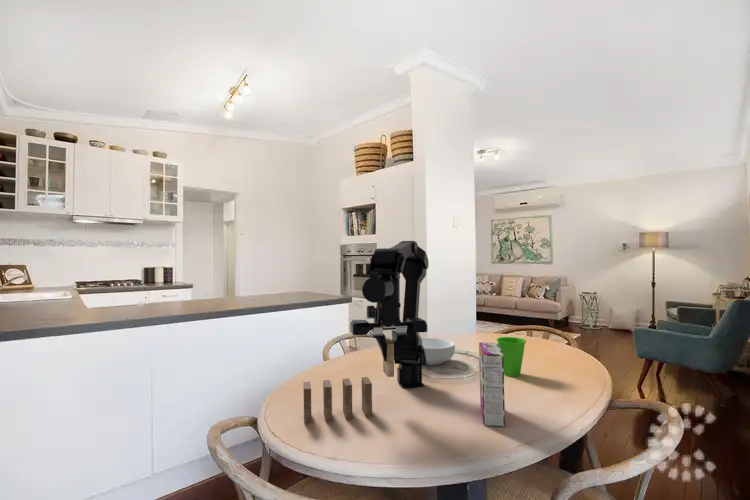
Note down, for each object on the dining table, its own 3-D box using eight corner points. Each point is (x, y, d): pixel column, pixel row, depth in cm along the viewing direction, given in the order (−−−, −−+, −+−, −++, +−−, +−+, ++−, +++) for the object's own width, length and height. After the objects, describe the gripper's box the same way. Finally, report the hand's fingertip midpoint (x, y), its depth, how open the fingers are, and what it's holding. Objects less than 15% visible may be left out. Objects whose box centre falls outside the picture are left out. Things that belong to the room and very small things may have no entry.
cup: (495, 377, 120) (495, 341, 120) (497, 368, 128) (497, 335, 128) (526, 380, 116) (526, 344, 116) (526, 371, 125) (526, 337, 125)
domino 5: (389, 370, 99) (389, 339, 99) (394, 376, 94) (393, 343, 94) (383, 371, 98) (383, 339, 98) (387, 377, 93) (387, 344, 94)
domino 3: (349, 410, 96) (349, 378, 96) (352, 418, 91) (352, 385, 91) (342, 411, 95) (342, 378, 95) (345, 419, 90) (345, 385, 91)
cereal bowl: (459, 369, 128) (459, 348, 128) (409, 369, 128) (409, 348, 128) (450, 355, 145) (450, 336, 145) (406, 355, 145) (406, 337, 145)
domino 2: (330, 412, 95) (329, 379, 95) (332, 420, 90) (331, 386, 90) (323, 412, 94) (323, 380, 94) (325, 421, 89) (324, 387, 90)
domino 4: (368, 408, 97) (367, 376, 97) (372, 416, 92) (371, 383, 92) (361, 409, 96) (361, 377, 96) (365, 417, 92) (365, 383, 92)
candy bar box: (479, 406, 97) (478, 341, 97) (499, 407, 96) (498, 342, 96) (482, 426, 86) (481, 353, 86) (505, 428, 85) (504, 354, 85)
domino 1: (310, 414, 94) (310, 381, 94) (311, 423, 89) (311, 388, 89) (303, 414, 93) (303, 381, 93) (304, 423, 88) (304, 389, 89)
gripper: (414, 294, 106) (414, 351, 106) (347, 295, 102) (347, 354, 102) (427, 298, 95) (428, 361, 95) (353, 300, 91) (353, 366, 91)
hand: (388, 360), depth 96 cm, fingers closed on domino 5, 2 cm apart
